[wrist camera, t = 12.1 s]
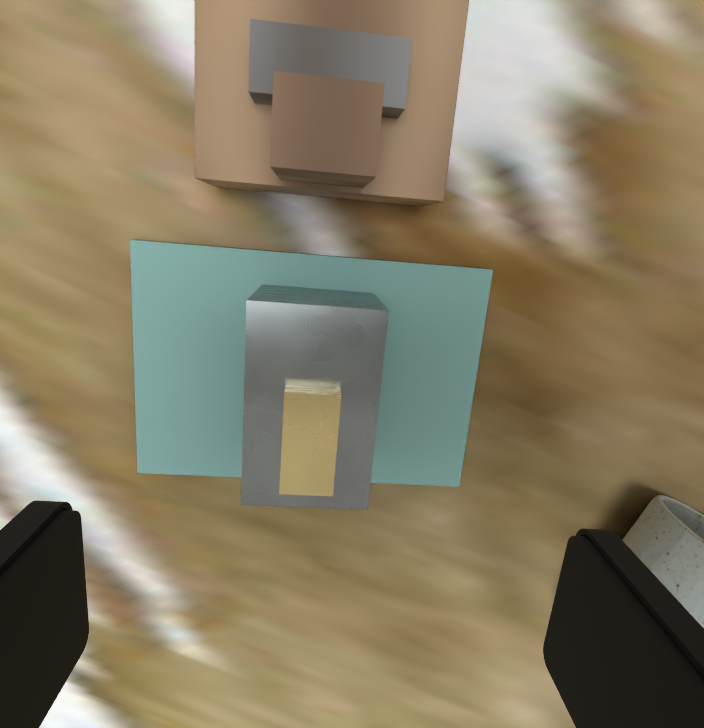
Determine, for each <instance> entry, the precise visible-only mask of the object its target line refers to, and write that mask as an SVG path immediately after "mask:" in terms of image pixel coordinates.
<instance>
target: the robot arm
mask: <svg viewBox="0 0 704 728" xmlns="http://www.w3.org/2000/svg"><path fill="white" fill-rule="evenodd" d="M88 634H89V622H88V608H87V594H86V580H85V566H84V552H83V539H82V525H81V516H80V513H79V512H78V511H72V507H71V505H70V504H69V503H67V502H53V501H33V502H31V503H30V504H28V505H27V506H26V507H25V508H24V509H23V510H22V511H21V512H20V513H19V514H18V515H16V516H15V517H14V518H13V519H12V520H11V521H10V522H9V523H8V524H7V525H6V526H5V527H3V528H2V529H1V530H0V728H39V727H40V725H41V723H42V721H43V720H44V718H45V716H46V715H47V713H48V711H49V709H50V708H51V706H52V704H53V703H54V701H55V699H56V697H57V696H58V694H59V692H60V691H61V689H62V687H63V685H64V684H65V682H66V680H67V679H68V677H69V675H70V673H71V672H72V670H73V668H74V667H75V665H76V663H77V661H78V660H79V658H80V656H81V654H82V653H83V651H84V649H85V646H86V643H87V639H88ZM543 654H544V660H545V664H546V666H547V669H548V671H549V673H550V675H551V677H552V679H553V681H554V683H555V685H556V687H557V689H558V691H559V694H560V696H561V698H562V700H563V702H564V704H565V706H566V708H567V710H568V712H569V714H570V716H571V718H572V720H573V722H574V724H575V726H576V728H704V628H703V627H702V626H701V625H700V624H699V623H698V622H697V621H696V619H695V618H694V617H693V616H692V615H691V614H690V613H689V612H688V611H687V610H686V609H685V608H684V607H683V605H682V604H681V603H680V602H679V601H678V600H677V599H676V598H675V597H674V596H673V595H672V594H671V592H670V591H669V590H668V589H667V588H666V587H665V586H664V585H663V584H662V583H661V582H660V581H659V579H658V578H657V577H656V576H655V575H654V574H653V573H652V572H651V571H650V570H649V569H648V568H647V566H646V565H645V564H644V563H643V562H642V561H641V560H640V559H639V558H638V557H637V556H636V555H635V553H634V552H633V551H632V550H631V549H630V548H629V547H628V546H627V545H626V544H625V543H624V542H623V540H622V539H621V538H620V537H619V536H618V535H617V534H616V533H615V532H613V531H611V530H598V529H581V530H579V531H578V532H577V534H576V536H572V537H570V538H569V540H568V543H567V547H566V552H565V556H564V560H563V564H562V569H561V573H560V577H559V582H558V586H557V590H556V594H555V599H554V603H553V607H552V612H551V616H550V620H549V624H548V629H547V633H546V637H545V641H544V647H543Z"/></svg>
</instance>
